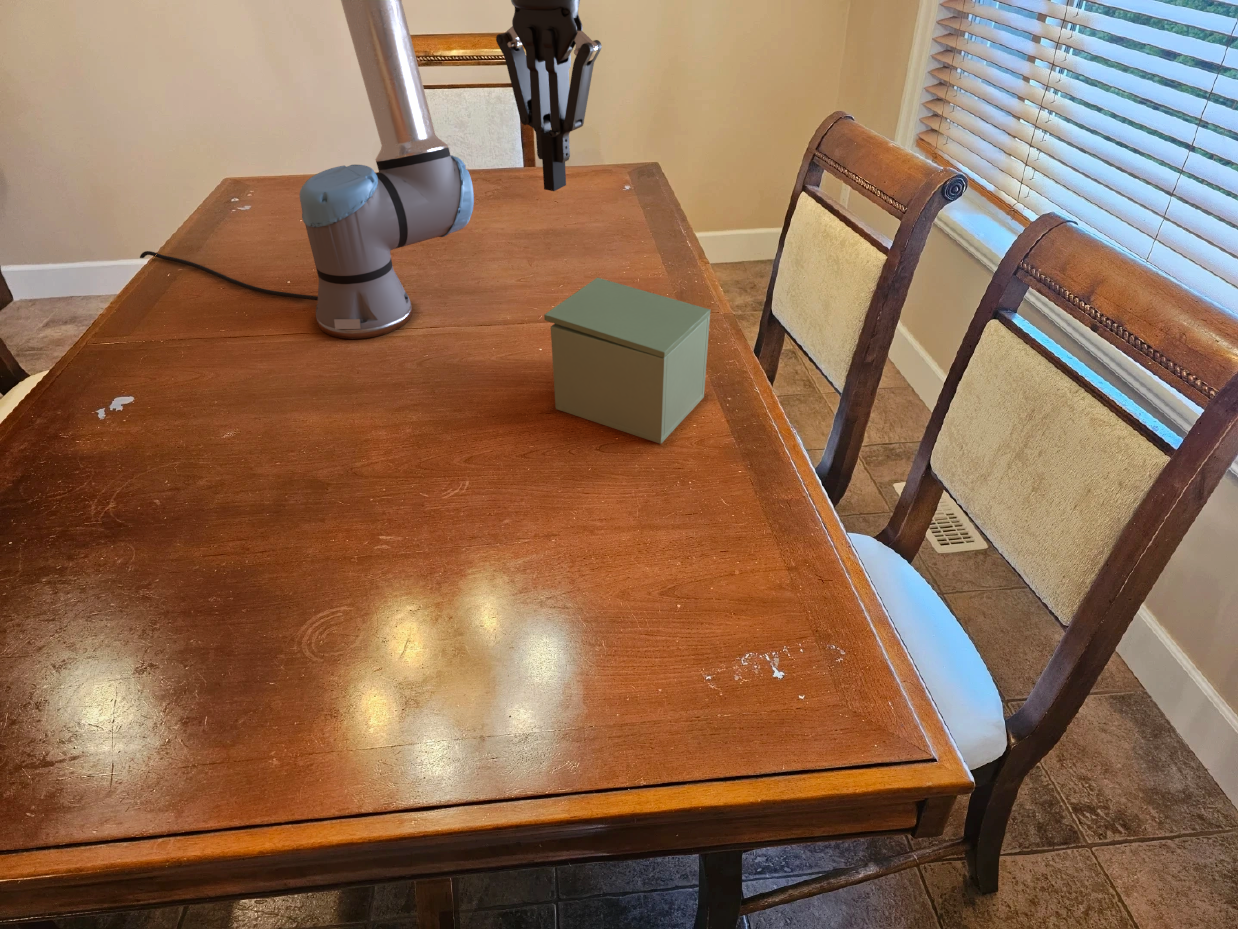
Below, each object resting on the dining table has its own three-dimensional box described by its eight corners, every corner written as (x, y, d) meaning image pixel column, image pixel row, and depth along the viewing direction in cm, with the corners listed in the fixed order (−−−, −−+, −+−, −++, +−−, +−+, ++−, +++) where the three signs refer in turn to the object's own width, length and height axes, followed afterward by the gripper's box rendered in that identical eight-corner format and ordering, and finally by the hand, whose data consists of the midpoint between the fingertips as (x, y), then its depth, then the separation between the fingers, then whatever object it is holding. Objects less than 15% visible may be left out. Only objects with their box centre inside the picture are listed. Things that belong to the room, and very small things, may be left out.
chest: (555, 409, 110) (550, 326, 103) (604, 367, 119) (602, 288, 112) (660, 444, 104) (664, 358, 96) (704, 397, 113) (710, 315, 105)
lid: (544, 320, 103) (544, 314, 102) (597, 282, 112) (597, 277, 111) (664, 358, 96) (664, 352, 95) (710, 315, 105) (710, 309, 104)
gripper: (614, -37, 84) (615, 187, 99) (515, -43, 90) (529, 170, 104) (576, -30, 79) (583, 205, 94) (473, -37, 84) (494, 187, 99)
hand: (555, 186), depth 99 cm, fingers closed
